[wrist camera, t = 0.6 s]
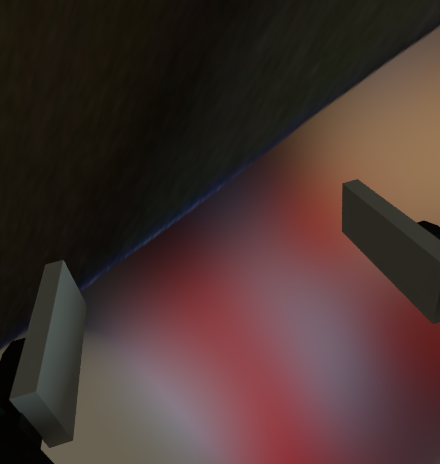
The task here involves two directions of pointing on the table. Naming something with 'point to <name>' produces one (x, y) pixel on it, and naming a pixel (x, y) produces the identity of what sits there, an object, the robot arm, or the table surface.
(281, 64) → the table surface
